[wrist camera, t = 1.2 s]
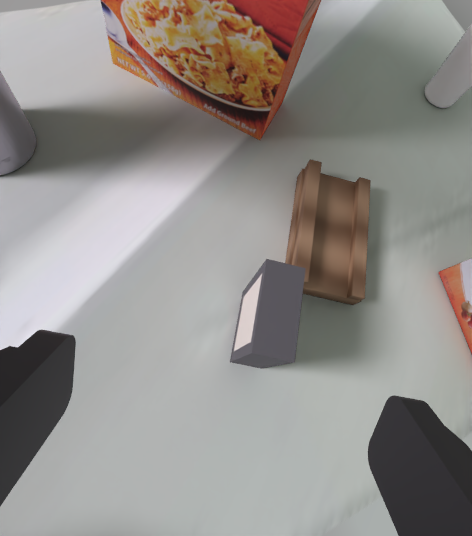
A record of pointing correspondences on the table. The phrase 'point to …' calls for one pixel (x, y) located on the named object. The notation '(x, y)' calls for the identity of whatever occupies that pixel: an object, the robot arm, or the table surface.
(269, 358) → the dark grey block
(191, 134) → the table surface
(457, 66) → the drinking glass
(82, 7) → the table surface
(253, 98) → the pasta box
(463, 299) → the cracker box
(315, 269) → the wooden channel tray
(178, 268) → the table surface
